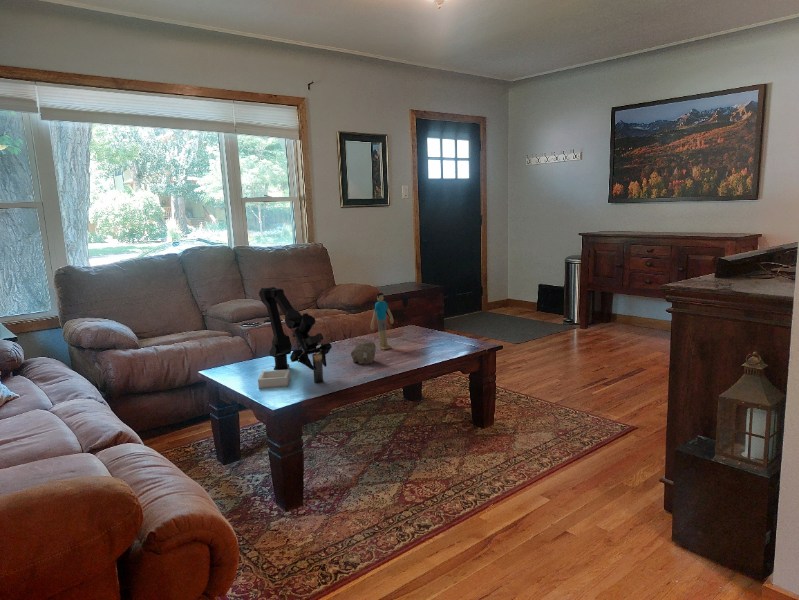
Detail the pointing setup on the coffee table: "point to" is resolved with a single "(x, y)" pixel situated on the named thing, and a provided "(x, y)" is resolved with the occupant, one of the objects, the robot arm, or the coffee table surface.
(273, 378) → the bin
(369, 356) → the rock
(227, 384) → the coffee table surface
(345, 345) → the coffee table surface
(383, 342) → the figurine
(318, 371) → the cell
